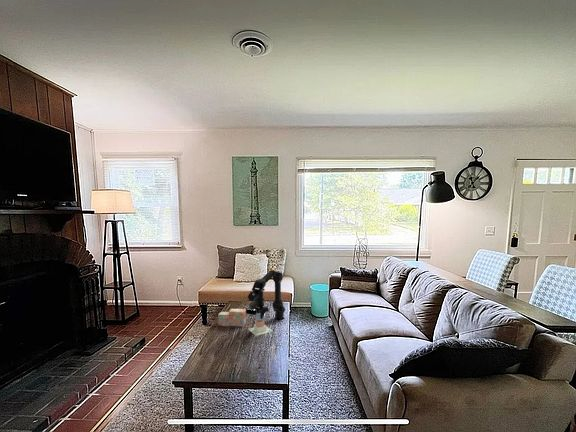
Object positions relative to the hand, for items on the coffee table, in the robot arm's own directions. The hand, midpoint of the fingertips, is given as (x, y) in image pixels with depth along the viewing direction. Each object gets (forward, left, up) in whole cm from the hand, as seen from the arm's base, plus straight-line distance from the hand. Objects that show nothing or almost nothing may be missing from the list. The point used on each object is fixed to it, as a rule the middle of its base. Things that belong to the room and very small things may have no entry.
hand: (259, 317), depth 209 cm
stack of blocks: (+14, -22, -10) cm, 28 cm away
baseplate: (0, 0, -10) cm, 10 cm away
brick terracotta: (0, 0, -6) cm, 6 cm away
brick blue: (0, 0, -1) cm, 1 cm away
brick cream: (0, 0, -9) cm, 9 cm away
